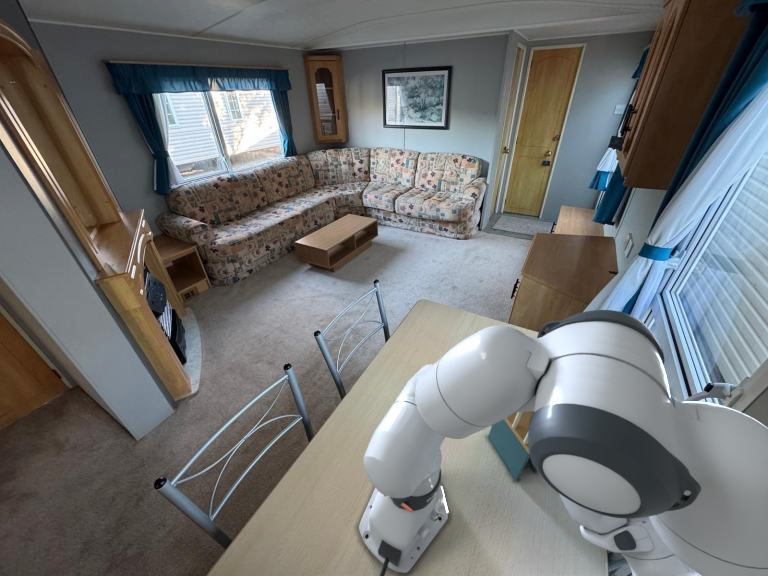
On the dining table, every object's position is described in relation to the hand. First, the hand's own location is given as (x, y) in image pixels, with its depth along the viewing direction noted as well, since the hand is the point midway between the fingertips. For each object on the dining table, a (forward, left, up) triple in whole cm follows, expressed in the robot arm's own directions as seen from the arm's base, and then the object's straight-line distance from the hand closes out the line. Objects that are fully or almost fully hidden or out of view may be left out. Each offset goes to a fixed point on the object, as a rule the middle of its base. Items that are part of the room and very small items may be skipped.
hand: (590, 436), depth 56 cm
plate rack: (+10, +9, -31) cm, 34 cm away
